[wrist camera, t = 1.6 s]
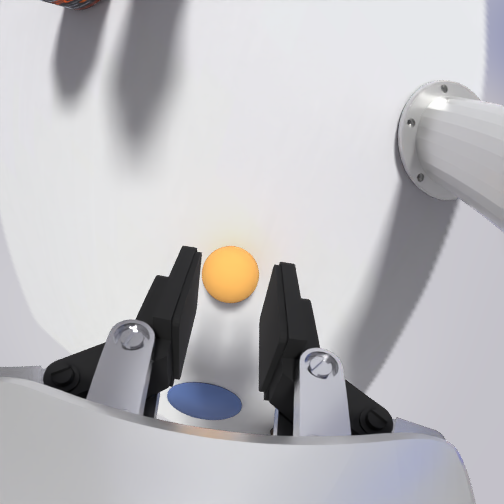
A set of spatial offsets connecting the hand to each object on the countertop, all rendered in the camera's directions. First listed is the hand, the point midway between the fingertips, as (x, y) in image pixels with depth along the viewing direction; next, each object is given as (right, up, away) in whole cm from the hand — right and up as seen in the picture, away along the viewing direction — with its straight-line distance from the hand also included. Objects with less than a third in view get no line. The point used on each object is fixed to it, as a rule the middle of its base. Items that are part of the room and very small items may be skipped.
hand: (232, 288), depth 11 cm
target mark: (-8, -25, +34) cm, 43 cm away
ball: (-1, -1, +17) cm, 17 cm away
